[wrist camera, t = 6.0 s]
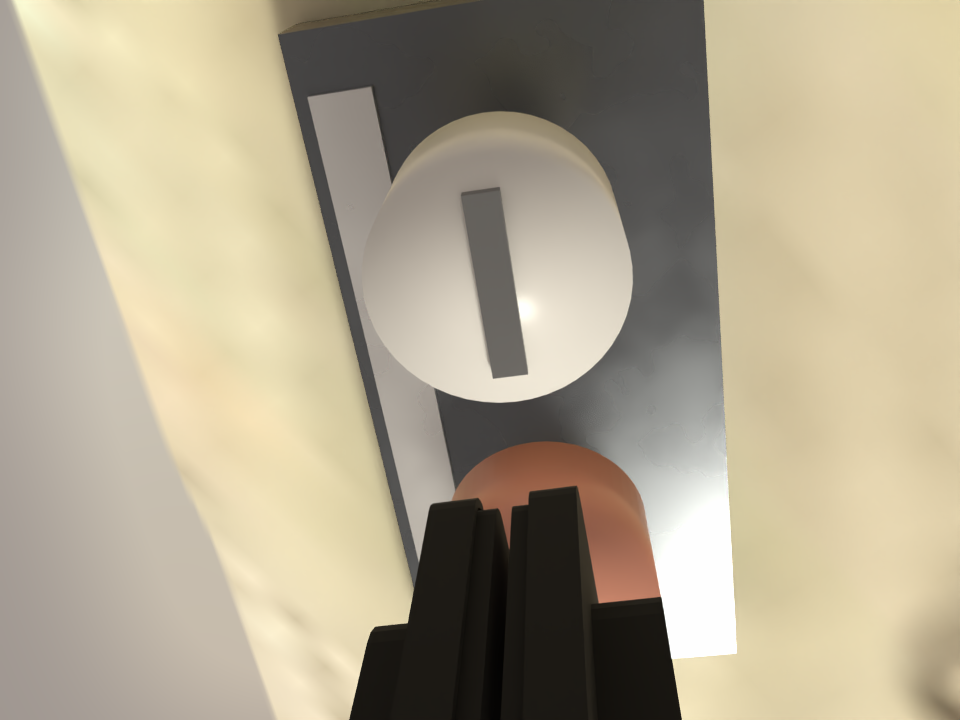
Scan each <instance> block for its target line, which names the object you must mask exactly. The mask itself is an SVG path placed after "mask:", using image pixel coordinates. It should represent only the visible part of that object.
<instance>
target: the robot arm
mask: <svg viewBox="0 0 960 720" xmlns="http://www.w3.org/2000/svg"><path fill="white" fill-rule="evenodd" d="M349 720H682V718H681V712H680V706H679V700H678V694H677V688H676V681H675V675H674V669H673V663H672V657H671V651H670V645H669V639H668V632H667V626H666V620H665V614H664V608H663V602H662V597H654V598H644V599H635V600H625V601H616V602H606V603H599V601H598V596H597V590H596V584H595V579H594V573H593V568H592V562H591V556H590V551H589V545H588V539H587V534H586V528H585V523H584V517H583V511H582V506H581V500H580V495H579V491H578V487H577V486H569V487H561V488H553V489H545V490H537V491H530V492H529V497H528V505H520V506H513V507H512V512H511V530H510V549H509V546H508V542H507V537H506V533H505V529H504V524H503V520H502V516H501V513H500V510H499V509H498V508H495V509H487V510H484V509H483V505H482V503H481V501H480V499H479V498H472V499H464V500H456V501H448V502H440V503H432V504H431V505H430V508H429V511H428V517H427V522H426V528H425V533H424V539H423V544H422V549H421V555H420V560H419V566H418V571H417V576H416V582H415V587H414V593H413V598H412V604H411V609H410V614H409V620H408V623H407V624H397V625H388V626H378V627H375V628H374V629H373V630H372V632H371V633H370V636H369V639H368V642H367V646H366V650H365V655H364V659H363V663H362V667H361V672H360V676H359V680H358V685H357V689H356V693H355V697H354V702H353V706H352V710H351V715H350V719H349Z"/></svg>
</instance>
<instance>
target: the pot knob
mask: <svg viewBox="0 0 960 720" xmlns="http://www.w3.org/2000/svg"><path fill="white" fill-rule="evenodd" d="M569 486H577V487H578V491H579V495H580V500H581V506H582V511H583V517H584V523H585V528H586V534H587V539H588V545H589V551H590V556H591V562H592V568H593V573H594V579H595V584H596V590H597V596H598V601H599V603H606V602H616V601H625V600H635V599H644V598H654V597H661V594H660V589H659V583H658V578H657V573H656V567H655V562H654V557H653V551H652V546H651V541H650V535H649V530H648V525H647V519H646V514H645V509H644V504H643V501H642V499H641V496H640V494H639V492H638V490H637V488H636V486H635V484H634V483H633V482H632V480H631V479H630V478H629V476H628V475H627V474H626V473H625V472H624V471H623V470H622V469H621V468H620V467H619V466H617V465H616V464H615V463H613V462H612V461H611V460H609V459H608V458H606V457H604V456H602V455H601V454H599V453H597V452H594V451H592V450H590V449H587V448H584V447H581V446H577V445H574V444H568V443H562V442H548V441H545V442H531V443H525V444H520V445H516V446H513V447H509V448H506V449H504V450H501V451H499V452H497V453H495V454H493V455H491V456H489V457H488V458H486V459H484V460H483V461H481V462H480V463H479V464H478V465H476V466H475V467H474V468H473V469H472V470H471V471H470V472H469V473H468V474H467V475H466V476H465V477H464V479H463V480H462V481H461V483H460V484H459V486H458V487H457V489H456V491H455V493H454V495H453V498H452V501H456V500H464V499H472V498H479V499H480V501H481V503H482V505H483V509H484V510H487V509H495V508H498V509H499V510H500V513H501V516H502V520H503V524H504V529H505V533H506V537H507V542H508V546H509V549H510V530H511V512H512V507H513V506H520V505H528V497H529V492H530V491H537V490H545V489H553V488H561V487H569Z"/></svg>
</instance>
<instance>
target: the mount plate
mask: <svg viewBox="0 0 960 720" xmlns="http://www.w3.org/2000/svg"><path fill="white" fill-rule="evenodd" d="M278 37H279V41H280V45H281V50H282V54H283V58H284V62H285V66H286V70H287V74H288V78H289V82H290V86H291V90H292V94H293V98H294V102H295V106H296V110H297V115H298V119H299V123H300V127H301V131H302V135H303V139H304V143H305V147H306V151H307V155H308V159H309V163H310V167H311V171H312V175H313V179H314V184H315V188H316V192H317V196H318V200H319V204H320V208H321V212H322V216H323V220H324V224H325V228H326V232H327V236H328V240H329V244H330V249H331V253H332V257H333V261H334V265H335V269H336V273H337V277H338V281H339V285H340V289H341V293H342V297H343V301H344V305H345V309H346V313H347V318H348V322H349V326H350V330H351V334H352V338H353V342H354V346H355V350H356V354H357V358H358V362H359V366H360V370H361V374H362V378H363V382H364V387H365V391H366V395H367V399H368V403H369V407H370V411H371V415H372V419H373V423H374V427H375V431H376V435H377V439H378V443H379V447H380V452H381V456H382V460H383V464H384V468H385V472H386V476H387V480H388V484H389V488H390V492H391V496H392V500H393V504H394V508H395V512H396V516H397V521H398V525H399V529H400V533H401V537H402V541H403V545H404V549H405V553H406V557H407V561H408V565H409V569H410V573H411V577H412V581H413V586H414V587H415V582H416V576H417V571H418V566H419V560H420V555H421V549H422V544H423V539H424V533H425V528H426V522H427V517H428V511H429V508H430V505H431V504H432V503H440V502H448V501H452V498H453V495H454V493H455V491H456V489H457V487H458V486H459V484H460V483H461V481H462V480H463V479H464V477H465V476H466V475H467V474H468V473H469V472H470V471H471V470H472V469H473V468H474V467H475V466H476V465H478V464H479V463H480V462H481V461H483V460H484V459H486V458H488V457H489V456H491V455H493V454H495V453H497V452H499V451H501V450H504V449H506V448H509V447H513V446H516V445H520V444H525V443H531V442H545V441H548V442H562V443H568V444H574V445H577V446H581V447H584V448H587V449H590V450H592V451H594V452H597V453H599V454H601V455H602V456H604V457H606V458H608V459H609V460H611V461H612V462H613V463H615V464H616V465H617V466H619V467H620V468H621V469H622V470H623V471H624V472H625V473H626V474H627V475H628V476H629V478H630V479H631V480H632V482H633V483H634V484H635V486H636V488H637V490H638V492H639V494H640V496H641V499H642V501H643V504H644V509H645V514H646V519H647V525H648V530H649V535H650V541H651V546H652V551H653V557H654V562H655V567H656V573H657V578H658V583H659V589H660V594H661V597H662V602H663V608H664V614H665V620H666V626H667V632H668V639H669V645H670V651H671V657H672V659H675V658H687V657H699V656H711V655H723V654H735V653H737V651H736V631H735V611H734V591H733V572H732V552H731V532H730V512H729V493H728V473H727V453H726V434H725V414H724V394H723V374H722V355H721V335H720V315H719V296H718V276H717V256H716V236H715V217H714V197H713V177H712V158H711V138H710V118H709V98H708V79H707V59H706V39H705V20H704V0H436V1H431V2H425V3H419V4H413V5H407V6H401V7H395V8H389V9H383V10H377V11H372V12H366V13H360V14H354V15H348V16H342V17H336V18H330V19H324V20H318V21H313V22H307V23H301V24H296V25H294V26H293V27H291V28H289V29H287V30H285V31H284V32H282V33H280V34H278ZM496 111H504V112H517V113H523V114H528V115H532V116H536V117H539V118H542V119H545V120H547V121H549V122H551V123H554V124H556V125H558V126H560V127H561V128H563V129H565V130H566V131H568V132H569V133H571V134H572V135H574V136H575V137H576V138H577V139H578V140H579V141H581V142H582V143H583V144H584V145H585V146H586V147H587V148H588V149H589V150H590V152H591V153H592V154H593V155H594V156H595V157H596V159H597V160H598V162H599V163H600V165H601V166H602V168H603V169H604V171H605V173H606V176H607V178H608V180H609V182H610V184H611V187H612V190H613V193H614V197H615V200H616V204H617V207H618V211H619V214H620V218H621V221H622V225H623V228H624V232H625V235H626V239H627V242H628V246H629V250H630V255H631V261H632V271H633V286H632V294H631V301H630V305H629V309H628V312H627V316H626V318H625V321H624V323H623V326H622V328H621V330H620V332H619V334H618V336H617V337H616V339H615V341H614V342H613V344H612V346H611V347H610V348H609V349H608V351H607V352H606V353H605V354H604V356H603V357H602V358H601V359H600V360H599V361H598V362H597V363H596V364H595V365H594V366H593V367H592V368H591V369H590V370H589V371H587V372H586V373H585V374H583V375H582V376H581V377H579V378H578V379H577V380H575V381H573V382H572V383H570V384H568V385H566V386H565V387H563V388H561V389H558V390H556V391H554V392H552V393H549V394H547V395H543V396H540V397H536V398H533V399H528V400H523V401H517V402H503V403H495V402H481V401H475V400H469V399H464V398H461V397H458V396H454V395H451V394H448V393H446V392H443V391H441V390H439V389H436V388H434V387H432V386H431V385H429V384H427V383H425V382H424V381H422V380H420V379H419V378H418V377H416V376H415V375H413V374H412V373H411V372H409V371H408V370H407V369H406V368H405V367H404V366H403V365H402V364H400V363H399V362H398V361H397V360H396V359H395V358H394V356H393V355H392V354H391V353H390V352H389V350H388V349H387V348H386V347H385V345H384V344H383V342H382V340H381V339H380V337H379V336H378V334H377V333H376V330H375V328H374V326H373V324H372V322H371V320H370V317H369V314H368V311H367V308H366V304H365V300H364V294H363V288H362V263H363V255H364V250H365V246H366V242H367V239H368V236H369V233H370V231H371V228H372V226H373V224H374V221H375V219H376V217H377V215H378V213H379V211H380V209H381V207H382V204H383V202H384V200H385V198H386V196H387V194H388V192H389V190H390V188H391V186H392V183H393V181H394V179H395V177H396V175H397V173H398V171H399V170H400V168H401V166H402V165H403V163H404V161H405V160H406V159H407V157H408V156H409V155H410V154H411V152H412V151H413V150H414V149H415V148H416V147H417V146H418V145H419V144H420V143H421V142H422V141H423V140H424V139H425V138H426V137H428V136H429V135H431V134H432V133H433V132H435V131H436V130H438V129H439V128H441V127H443V126H445V125H447V124H449V123H451V122H453V121H455V120H458V119H461V118H463V117H466V116H470V115H474V114H479V113H485V112H496Z"/></svg>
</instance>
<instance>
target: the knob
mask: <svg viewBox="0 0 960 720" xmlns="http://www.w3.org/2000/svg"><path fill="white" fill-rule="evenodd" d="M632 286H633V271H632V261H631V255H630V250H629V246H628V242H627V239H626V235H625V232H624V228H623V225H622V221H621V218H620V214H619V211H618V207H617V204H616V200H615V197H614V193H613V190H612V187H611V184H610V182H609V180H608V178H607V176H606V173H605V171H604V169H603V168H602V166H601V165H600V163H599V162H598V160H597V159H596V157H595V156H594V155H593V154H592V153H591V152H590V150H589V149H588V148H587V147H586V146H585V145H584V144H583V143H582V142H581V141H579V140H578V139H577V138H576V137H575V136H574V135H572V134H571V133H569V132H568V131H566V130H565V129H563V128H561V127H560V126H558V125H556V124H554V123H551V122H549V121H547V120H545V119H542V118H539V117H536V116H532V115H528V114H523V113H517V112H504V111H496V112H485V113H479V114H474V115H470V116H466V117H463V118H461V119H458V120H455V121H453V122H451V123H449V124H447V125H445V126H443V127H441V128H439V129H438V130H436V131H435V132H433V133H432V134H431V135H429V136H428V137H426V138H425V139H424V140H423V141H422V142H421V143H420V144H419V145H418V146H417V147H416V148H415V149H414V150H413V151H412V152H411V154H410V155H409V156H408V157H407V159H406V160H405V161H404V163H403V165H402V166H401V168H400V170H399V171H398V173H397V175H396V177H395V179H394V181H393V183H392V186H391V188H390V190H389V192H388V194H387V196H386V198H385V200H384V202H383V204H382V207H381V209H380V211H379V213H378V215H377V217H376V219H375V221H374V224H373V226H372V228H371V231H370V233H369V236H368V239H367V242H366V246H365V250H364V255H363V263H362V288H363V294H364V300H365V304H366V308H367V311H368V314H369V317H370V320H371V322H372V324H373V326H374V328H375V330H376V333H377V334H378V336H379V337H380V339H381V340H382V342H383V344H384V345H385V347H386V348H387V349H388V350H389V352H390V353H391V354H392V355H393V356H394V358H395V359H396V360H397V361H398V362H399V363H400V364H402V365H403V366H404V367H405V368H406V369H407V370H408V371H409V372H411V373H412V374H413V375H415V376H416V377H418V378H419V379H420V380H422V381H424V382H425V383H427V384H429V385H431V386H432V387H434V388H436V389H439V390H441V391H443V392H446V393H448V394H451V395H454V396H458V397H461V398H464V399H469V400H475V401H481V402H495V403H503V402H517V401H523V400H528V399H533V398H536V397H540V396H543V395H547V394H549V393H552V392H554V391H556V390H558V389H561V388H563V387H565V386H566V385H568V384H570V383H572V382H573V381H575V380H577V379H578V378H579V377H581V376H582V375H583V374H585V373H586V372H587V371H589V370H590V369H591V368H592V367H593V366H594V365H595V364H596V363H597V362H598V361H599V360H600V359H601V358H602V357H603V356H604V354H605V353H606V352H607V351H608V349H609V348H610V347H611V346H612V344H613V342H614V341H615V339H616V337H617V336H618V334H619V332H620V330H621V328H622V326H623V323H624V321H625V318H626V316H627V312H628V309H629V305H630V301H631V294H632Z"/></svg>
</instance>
